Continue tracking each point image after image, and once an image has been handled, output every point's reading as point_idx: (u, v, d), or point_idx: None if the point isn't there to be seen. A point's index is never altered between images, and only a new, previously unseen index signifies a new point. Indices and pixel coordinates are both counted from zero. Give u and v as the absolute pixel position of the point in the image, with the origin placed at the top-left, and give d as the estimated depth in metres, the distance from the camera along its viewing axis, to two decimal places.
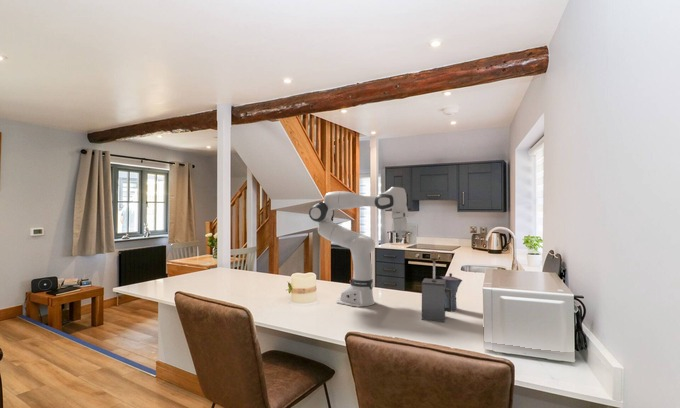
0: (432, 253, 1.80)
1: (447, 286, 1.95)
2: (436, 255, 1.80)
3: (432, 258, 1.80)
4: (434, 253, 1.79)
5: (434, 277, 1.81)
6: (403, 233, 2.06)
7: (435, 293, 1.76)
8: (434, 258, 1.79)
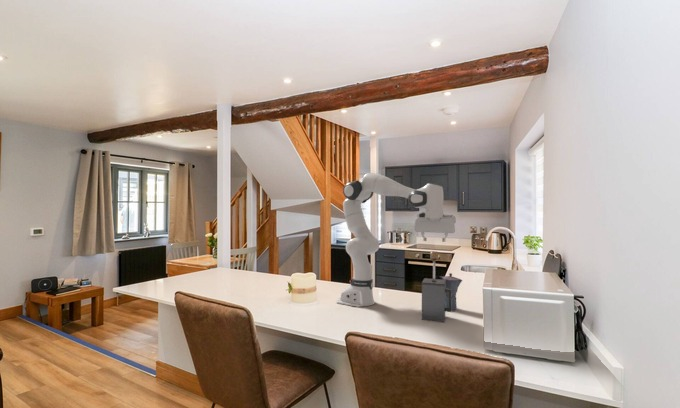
0: (432, 253, 1.80)
1: (447, 286, 1.95)
2: (436, 255, 1.80)
3: (432, 258, 1.80)
4: (434, 253, 1.79)
5: (434, 277, 1.81)
6: None
7: (435, 293, 1.76)
8: (434, 258, 1.79)
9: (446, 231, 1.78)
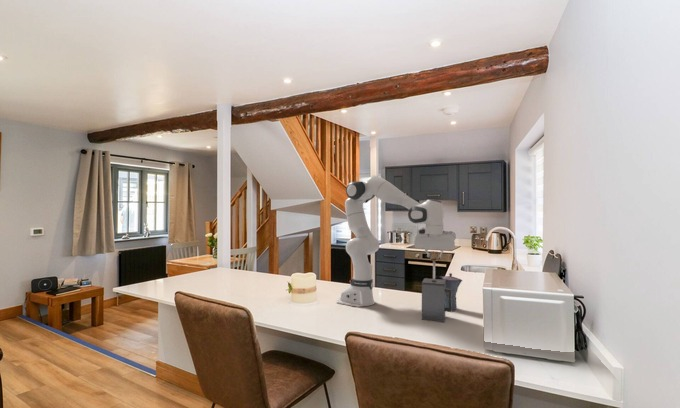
0: (432, 253, 1.80)
1: (447, 286, 1.95)
2: (436, 255, 1.80)
3: (432, 258, 1.80)
4: (434, 253, 1.79)
5: (434, 277, 1.81)
6: (440, 253, 1.80)
7: (435, 293, 1.76)
8: (434, 258, 1.79)
9: (446, 248, 1.78)
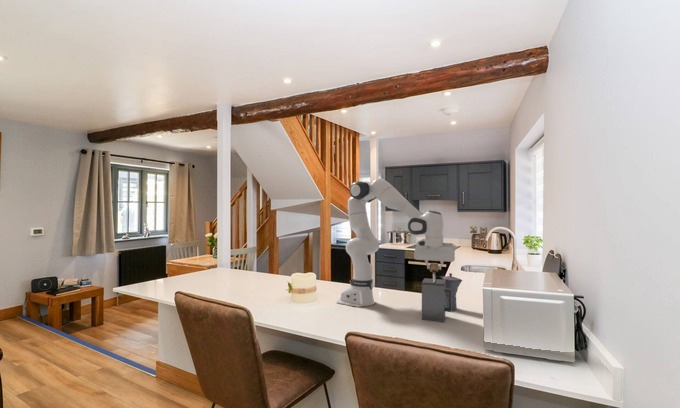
0: (432, 265, 1.80)
1: (447, 286, 1.95)
2: (436, 267, 1.80)
3: (432, 270, 1.80)
4: (434, 265, 1.79)
5: None
6: None
7: (435, 293, 1.76)
8: (434, 270, 1.79)
9: (446, 260, 1.78)
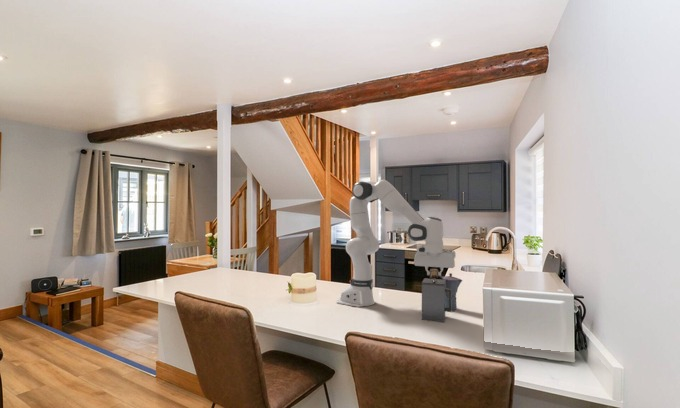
0: (432, 271, 1.80)
1: (447, 286, 1.95)
2: (436, 273, 1.80)
3: (432, 276, 1.80)
4: (434, 271, 1.79)
5: None
6: (440, 271, 1.80)
7: (435, 293, 1.76)
8: (434, 276, 1.79)
9: (446, 266, 1.78)
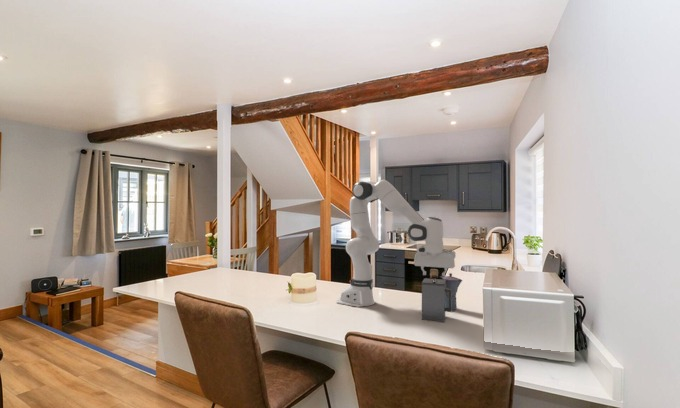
0: (432, 271, 1.80)
1: (447, 286, 1.95)
2: (436, 273, 1.80)
3: (432, 276, 1.80)
4: (434, 271, 1.79)
5: None
6: None
7: (435, 293, 1.76)
8: (434, 276, 1.79)
9: (446, 266, 1.78)
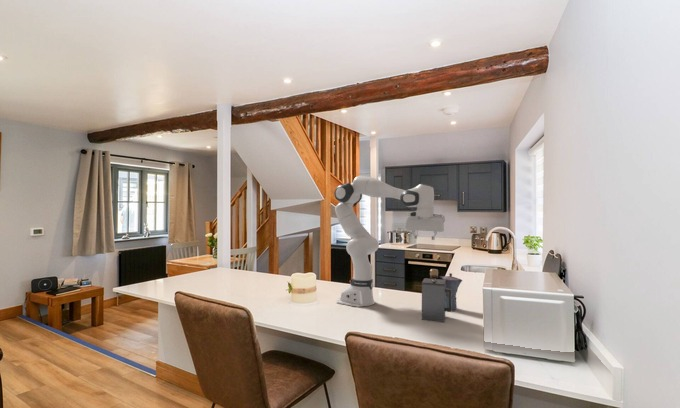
0: (432, 271, 1.80)
1: (447, 286, 1.95)
2: (436, 273, 1.80)
3: (432, 276, 1.80)
4: (434, 271, 1.79)
5: None
6: (434, 235, 1.90)
7: (435, 293, 1.76)
8: (434, 276, 1.79)
9: (435, 230, 1.88)
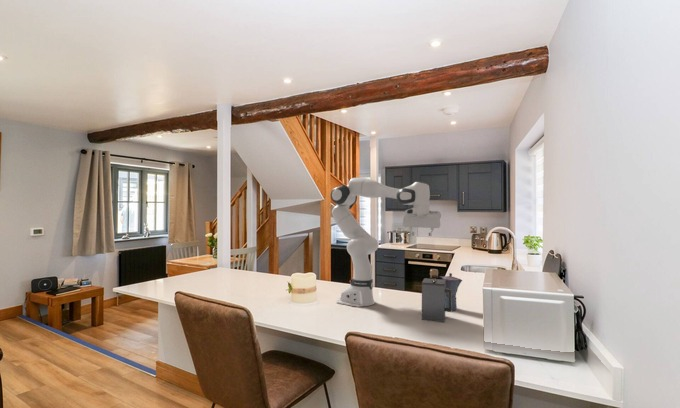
0: (432, 271, 1.80)
1: (447, 286, 1.95)
2: (436, 273, 1.80)
3: (432, 276, 1.80)
4: (434, 271, 1.79)
5: None
6: (431, 231, 1.94)
7: (435, 293, 1.76)
8: (434, 276, 1.79)
9: (432, 226, 1.92)
